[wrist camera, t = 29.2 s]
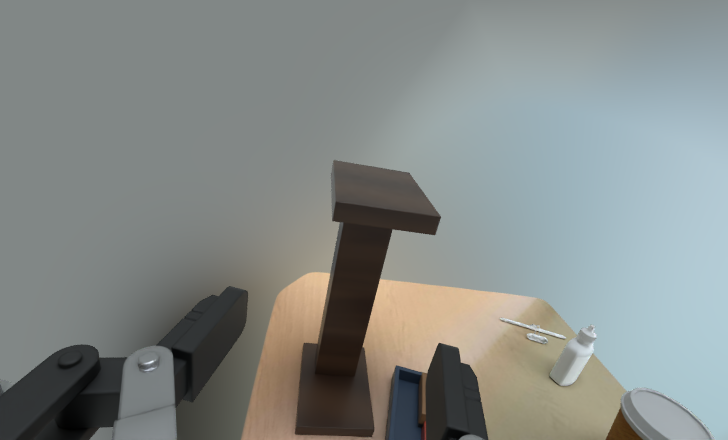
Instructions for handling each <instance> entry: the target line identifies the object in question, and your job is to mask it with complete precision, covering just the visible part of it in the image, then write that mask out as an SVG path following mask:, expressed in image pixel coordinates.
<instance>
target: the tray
mask: <svg viewBox="0 0 728 440" xmlns="http://www.w3.org/2000/svg"><path fill="white" fill-rule="evenodd" d="M421 375H422V372H418V371H414V370H411V369H407V368H404V367H400V366H397V365H396V367H395V370H394V373H393V377H392V383H391V392H390V401H389V410H388V419H387V429H386V438H385V440H421V429H422V428H419V427H418V387H419V380H420V378H421Z"/></svg>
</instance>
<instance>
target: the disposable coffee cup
mask: <svg viewBox="0 0 728 440" xmlns="http://www.w3.org/2000/svg"><path fill="white" fill-rule="evenodd" d="M620 408H621V409H620V410H619V412H618V414H617V416H616V419H615V420H614V423H613V425H612V427H611V429H610V431H609V433H608V436H607V438H606V440H715V439H714V437H713V435H712V433H711V432H710V431H709V429H708V428H707V427H706V426H705V424H704V423H703V422H702V421H701V420H700V419H699V418H697V417H696V416H695V415H694V414H693V413H692V412H691V411H689V410H688V409H687V408H686V407H684V406H683V405H681V404H680V403H678V402H677V401H675V400H674V399H672V398H670V397H668V396H666V395H664V394H662V393H660V392H657V391H655V390H652V389H648V388H635V389H633V390H632V391H628V392H625V393H624V394H623V395H622V397H621V407H620Z"/></svg>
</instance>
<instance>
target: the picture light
mask: <svg viewBox="0 0 728 440" xmlns="http://www.w3.org/2000/svg"><path fill="white" fill-rule="evenodd" d="M499 319H501V320H502V321H504V322H508V323H512V324H515V325H519V326H522V327H525V328H529V329H532V330H535V332H536V331H539V334H540V332H542V333H546V334H549V335H552V336H556V337H559V338H562V339H563V338H564V339H565V338H566V337H565V336H563V335H560V334H556V333H553V332H550V331H546V330H543V329H540V326H539V325H535V324H534V325H535V326H534V325H533V324H532V325H530V326H529V325H526V324H522V323H519V322H516V321H512V320H509V319H506V318H499ZM537 326H539V328H537ZM527 337H528V338H529V340H534V341H537V342H541V343H543V344H545V343H548V340H547V339H546V337H541V336H539V335H536V334H535V333H534V334H533V333H530V334H527Z"/></svg>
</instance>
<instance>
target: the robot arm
mask: <svg viewBox="0 0 728 440" xmlns="http://www.w3.org/2000/svg"><path fill="white" fill-rule="evenodd" d="M247 302H248V292H247V291H246V290H242V289H239V288H235V287H231V286H229V287H227V288H226V289H225V290H224V291H223V292H222V294H221V295H220V296H215V295H211V296H209V297H208V298H205V299H203V300H202V301H200V302H199V303H198V304H197V305H196V306H195V307H194V308H193V309H192V311H191V312H189V313H188V314H187V315H186V316H185V318H184V319H182V320H181V321H180V322H179V323H178V324H177V325H176V326H175V327H174V328H173V329H172V330H171V331H170V332H169V333H168V334H167V335H166V336H165V337H164V338H163V339H162V340H161V341H160V342H159V343H158V344H157V345H156V346H149V347H145V348H142V349H140V350H138V351H136V352H134V353H133V354H132V355H130V356H129V357H125V358H99V353H98V350H97V349H96V348H95V347H93V346H90V345H74V346H70V347H66V348H64V349H61V350H59V351H57V352H55V353H54V354H52V355H51V356H49V357H48V358H47V359H46V360H45V361H43V362H42V363H41V364H40V365H38V366H37V367H36V368H34V369H33V370H32V371H31V372H30V373H28V374H27V375H26V376H25V377H23V378H22V379H21V380H20V381H18V382H17V383H16V384H15V385H13V386H12V387H11V388H10V389H8V390H7V391H6V392H5V393H4V391H3V390H2V389H1V386H0V440H89V439H90V438H91V437H92V436H93V435H94V434H95V432H96V431H97V430H98V429H99V428H100V427H113V434H112V440H177V435H176V411H175V408H176V407H177V406H178V404H179V403H180V402H181V400H182V399H183V400H187V401H190V402H193V401H194V400H195V398H196V397H197V396H198V394H199V393H200V391H201V390H202V388H203V387H204V386H205V384H206V383H207V382H208V380H209V379H210V377H211V376H212V374H213V373H214V371H215V370H216V369H217V367H218V366H219V365H220V363H221V362H222V360H223V359H224V358H225V356H226V355H227V353H228V352H229V351H230V349H231V348H232V346H233V345H234V343H235V342H236V341H237V339H238V338H239V336H240V335H241V333H242V331H243V329H244V327H245V323H246V317H247ZM425 390H426V440H488V436H487V430H486V425H485V419H484V414H483V409H482V403H481V398H480V392H479V387H478V381H477V377H476V375H475V374H474V372H473V370H472V369H471V367H470V365H467V364H464V363H461V361H460V354H459V349H458V348H457V347H453V346H449V345H445V344H442V343H439V344H438V346H437V348H436V351H435V354H434V356H433V359H432V362H431V364H430V367H429V370H428V373H427V377H426V386H425Z"/></svg>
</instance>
